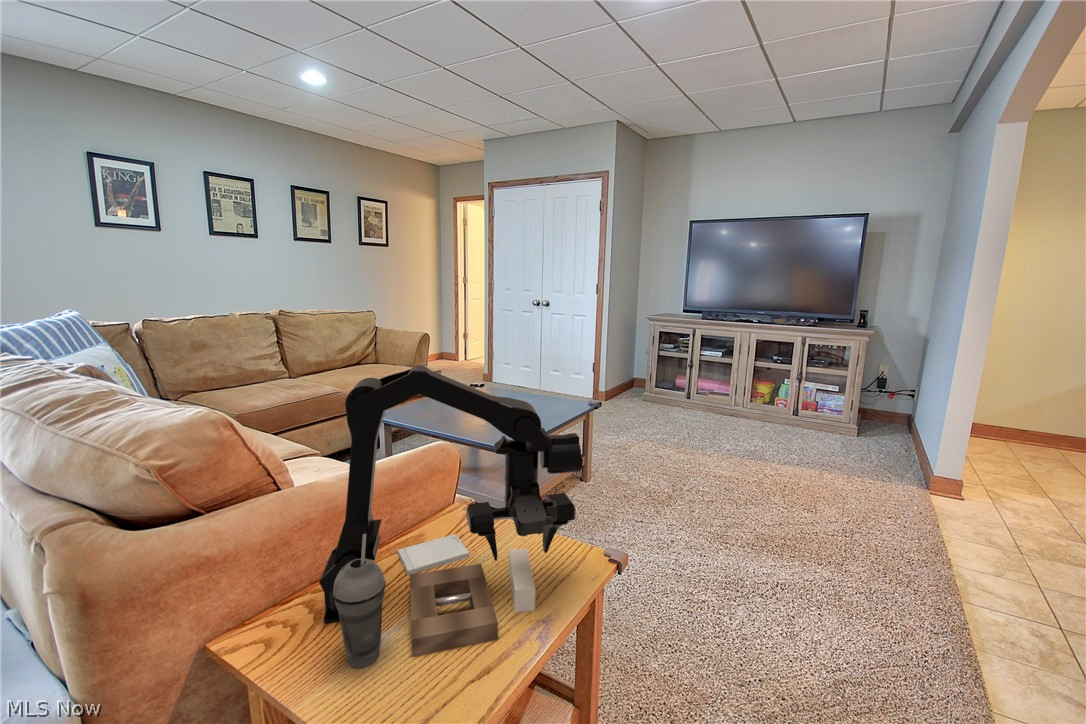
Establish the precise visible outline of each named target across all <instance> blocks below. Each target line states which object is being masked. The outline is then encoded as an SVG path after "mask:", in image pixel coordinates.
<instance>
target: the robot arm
mask: <svg viewBox="0 0 1086 724" xmlns="http://www.w3.org/2000/svg"><path fill="white" fill-rule="evenodd" d="M418 395H419V396H420V395H421V396H424V397H426V398H428V399H432V400H434V401H436V402H439V403H441V404H443V405H446V406H449V407H451V408H453V409H456V410H458V411H462V412H463V413H467V414H468V415H471V416H474V417H475V418H479V419H481V420H484V421H486V422H487V423H489V424H490V425H491V426H493V427H494V428H495V429H496V430H498V432H500V433H502V434H503V435H501V437H500V439H499V440H498V441H496V442H495V443H494V445H493V447H494V450H495V454H497V455H505V457H504V459H505V460H504V461H505V463H504V464H505V466H504V467H505V469H504V470H505V471H504V486H505V487H504V506H503V507H496V508H491V507H492V506H491V504H490V502H489V501H484V502H477V503H475V502H474V503H469V504H468V506H467V507H466V510H465V511H466V520H467V524H468V528H469V532H470V534H475V535H476V534H477V536H479V537H484V538H485V539H486V541H487V542H488V545H489V548H490V551H491V553H492V556H493V559H494V561H495V562H496V561H498V548H497V538H496V535H497V531H496V530H495V528H494V527H495V521H500V520H510V519H513V522H514V526H515V531H516V534H517V535H518V536H520V537H527V536H530V535H536V534H537V535H542V549H543V552H544V553H545V554H547V553H548V551H549V549H550V546H551V544H552V541H553V540H554V536H555V535H556V532H557V531H558V529H559V528H560V527H562V526H564V525H567V524H568V523H569V522H570V521H574V520H575V519H576V505H575V504H574V502H572V500H571V499H570V497H569V496H568V495H567V494H566V493H565V492H560V493H559V492H558V493H551V494H546V496H545V499H542V497H541V493H540V492H541V491H540V485H539V480H538V479H539V462H540V467H541V469H546V472H547V474H549V475H553V474H568V473H569V474H570V473H571V474H572V473H581V472H582V468H583V463H584V461H583V460H584V459H583V456H582V450H581V445H580V437H579V435H578V434H577V433H576V432H572V433H571V432H570V433H566V434H555V435H554V434H553V435H548V433H547V431H546V430H545V428H544V427H542V421H541V418H540V416H539V414H538V412H537V411H536V410H535V408H534V407H533V405H532V404H531V403H529V401H528V402H527V401H525V400H521V399H516V398H512V397H506V396H505V397H504V396H495V395H491V394H489V393H487V392H484V391H481V390H479V389H477V388H474V387H472V386H469V385H467V384H464V383H462V382H460V381H458V380H455V379H453V378H450V377H448V376H445V375H443V374H440V373H438V372H436V371H433V370H431V369H430V368H428V367H427V366H426V365H425V366H424V365H415V366H413V367H411V368H409V369H407V370H402V371H399V372H396V373H392V374H388V375H386V376H383V377H380V378H377V377H365V378H364V379H361V380H359V382H357V383H356V384H355V385H354V387H353V388H352V389H351V391H350V392H349V393H348V394H347V396H346V398H345V402H344V403H345V404H344V407H345V414H346V424H347V428H348V431H349V434H350V438H351V439H350V440H351V442H350V443H351V444H350V445H351V447H350V455H349V467H348V468H349V471H348V481H347V493H346V494H347V495H346V507H345V516H344V517H345V518H344V519H345V520H344V521H343V522H344V523H343V526H342V529H341V532H340V535H339V539H338V541H337V545H336V546H335V548H334V549H333V550H331V552H330V555H329V556H328V560H327V562H326V564H325V567H324V570H323V572H322V574H321V576H320V578H319V581H318V583H319V586H320V587H321V589H322V590H323V597H324V598H323V599H324V610H325V611H324V615H323V623H325V624H326V623H333V622H338V621H339V622H340V619H339V613H338V609H337V608H336V605H335V601H334V598H333V593H332V592H333V589H334V582H335V579H336V577H337V575H338V573H339V571H340V570H341V569H342V568H343V567H344V566H345V565H346V564H347V563H349V562H350V561H353V560H355V559H360V558H361V553H362V539H363V534H366V547H365V559H369V560H372V561H374V562H375V560H376V557H377V554H378V549H379V546H380V542H381V536H380V528H381V524H382V519H381V518H380V519H374V517H373V514H372V513H373V512H372V509H373V508H372V506H373V494H374V487H375V486H374V483H375V475H376V473H375V471H376V463H377V449H378V441H379V440H378V439H379V433H380V429H381V426H382V422H383V420H384V417H385V413H386V411H387V410H389V409H392V408H394V407H396V406H397V405H400V404H402V403H404V402H406V401H407V400H408V401H409V400H410V399H411V398H414V397H416V396H418ZM507 437H508V438H510V439H508V438H507Z"/></svg>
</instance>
